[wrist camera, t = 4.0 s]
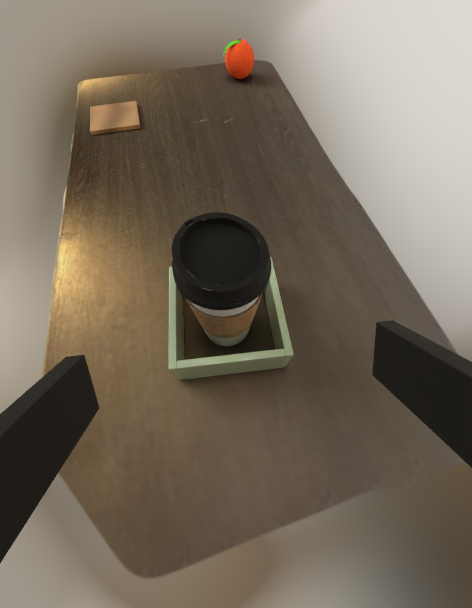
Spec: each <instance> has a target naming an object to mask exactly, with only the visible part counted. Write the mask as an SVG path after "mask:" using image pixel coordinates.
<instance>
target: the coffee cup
mask: <svg viewBox="0 0 472 608" xmlns="http://www.w3.org/2000/svg"><path fill="white" fill-rule="evenodd" d="M172 256H173V261H172V271H173V276H174V280H175V284H176V286H177V288H178V289H179V291H180V292H181V294H182V295H183V296H184V297H185V298H186V300H187V302H188V304H189V305H190V307H191V309H192V310H193V312H194V314H195V316H196V317H197V319H198V321H199V323H200V324H201V326H202V327H203V329H204V331H205V333H206V335H207V337H208V338H209V339H210V340H211V341H212V342H214V343H215V344H217V345H221V346H233V345H236V344H238V343H240V342H241V341H242V340H244V339H245V337H246V336H247V334H248V332H249V330H250V326H251V323H252V321H253V318H254V316H255V313H256V310H257V307H258V305H259V302H260V299H261V297H262V294H263V291H264V290H265V288H266V286H267V284H268V282H269V279H270V275H271V258H270V254H269V250H268V246H267V243H266V241H265V239H264V237H263V236H262V235H261V233H260V232H259V231H258V230H257V229H256V228H255V227H254V226H253V225H251V224H250V223H248V222H247V221H245V220H243V219H241V218H239V217H237V216H234V215H231V214H227V213H221V212H213V213H207V214H203V215H199V216H197V217H194V218H191V219H189V220H187V221H186V222H185V223H184V224H183V225H182V226H181V228H180V229H179V230H178V232H177V234H176V235H175V237H174V240H173V243H172Z"/></svg>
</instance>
